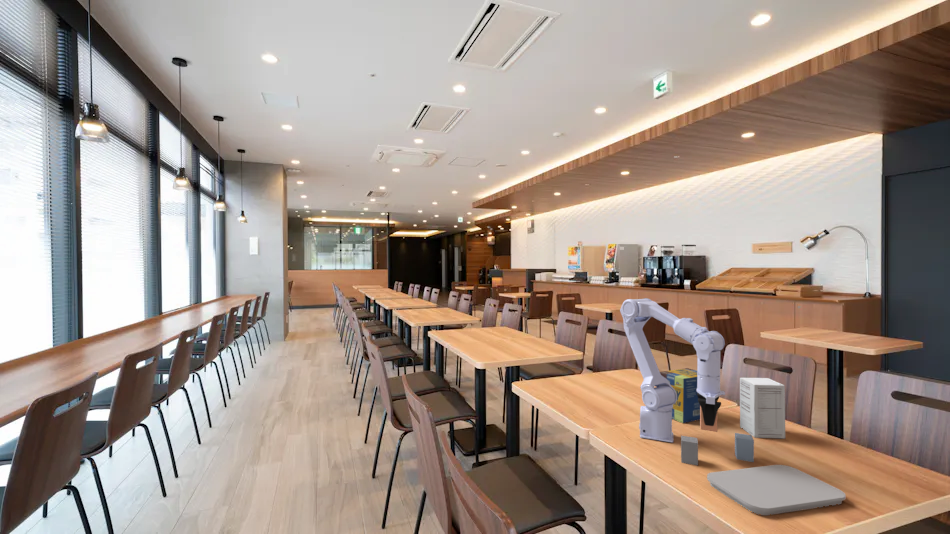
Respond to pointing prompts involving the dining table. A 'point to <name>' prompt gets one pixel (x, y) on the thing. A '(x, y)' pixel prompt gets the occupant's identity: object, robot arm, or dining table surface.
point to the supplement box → (762, 407)
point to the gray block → (689, 450)
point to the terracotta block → (706, 427)
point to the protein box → (684, 394)
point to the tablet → (775, 489)
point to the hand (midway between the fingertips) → (708, 422)
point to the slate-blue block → (744, 447)
